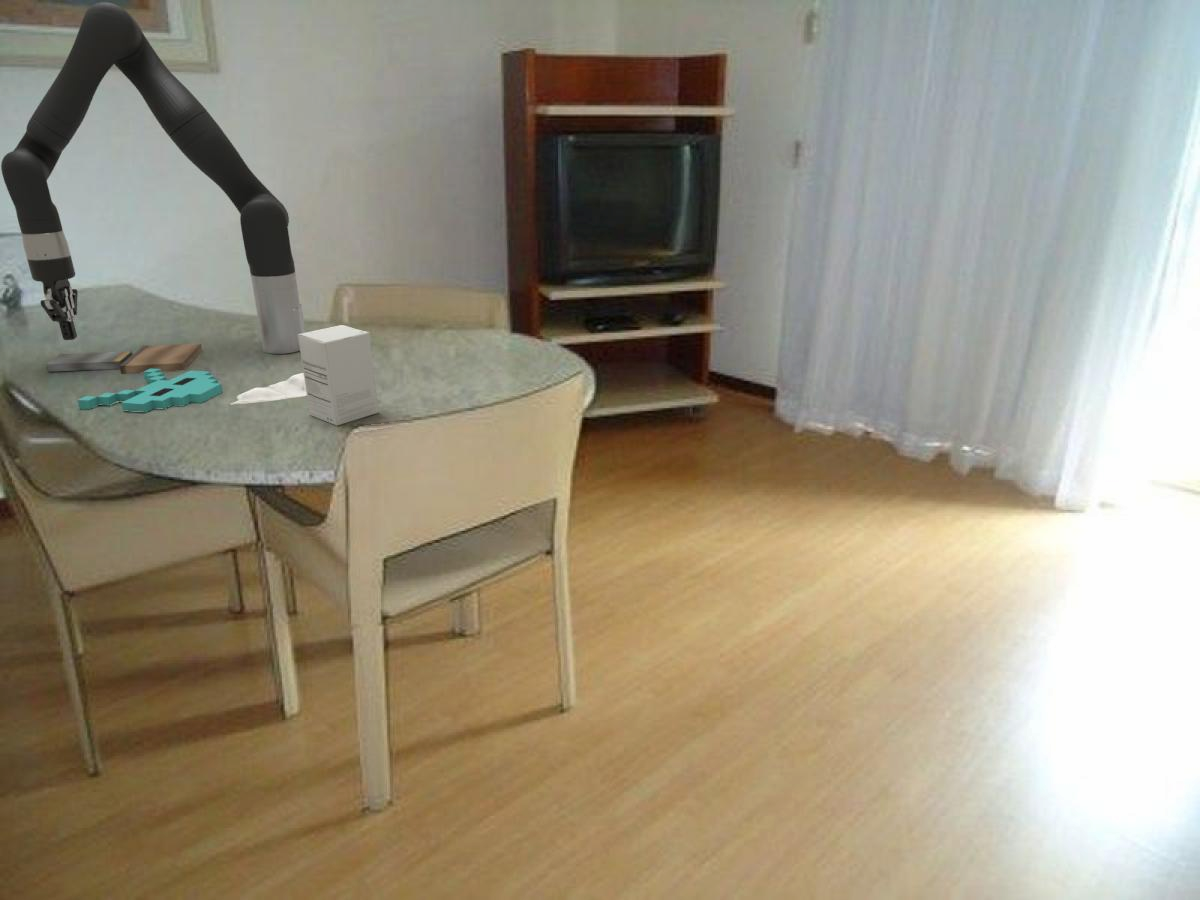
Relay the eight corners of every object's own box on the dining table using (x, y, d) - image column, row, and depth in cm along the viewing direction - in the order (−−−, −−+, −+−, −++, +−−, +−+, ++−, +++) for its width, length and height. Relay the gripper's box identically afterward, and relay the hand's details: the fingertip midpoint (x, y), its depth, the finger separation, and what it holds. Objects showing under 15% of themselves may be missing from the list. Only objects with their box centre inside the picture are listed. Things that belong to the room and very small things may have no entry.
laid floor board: (202, 351, 186) (200, 342, 186) (184, 371, 172) (182, 362, 171) (145, 354, 184) (143, 345, 183) (121, 374, 170) (119, 365, 169)
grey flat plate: (133, 358, 180) (131, 351, 180) (121, 368, 173) (119, 361, 172) (62, 361, 178) (61, 353, 177) (47, 371, 170) (45, 364, 170)
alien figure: (80, 411, 150) (179, 417, 147) (77, 399, 149) (177, 406, 146) (152, 378, 169) (242, 384, 165) (150, 368, 168) (240, 373, 165)
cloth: (240, 416, 148) (238, 404, 148) (208, 399, 157) (205, 387, 156) (367, 384, 166) (365, 373, 165) (331, 370, 175) (330, 360, 174)
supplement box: (351, 402, 153) (342, 323, 148) (380, 413, 148) (371, 331, 142) (307, 415, 147) (295, 332, 141) (335, 426, 141) (324, 341, 136)
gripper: (55, 259, 161) (78, 346, 167) (81, 249, 173) (101, 330, 179) (13, 261, 159) (37, 348, 166) (41, 250, 171) (63, 332, 178)
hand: (70, 338), depth 173 cm, fingers closed
